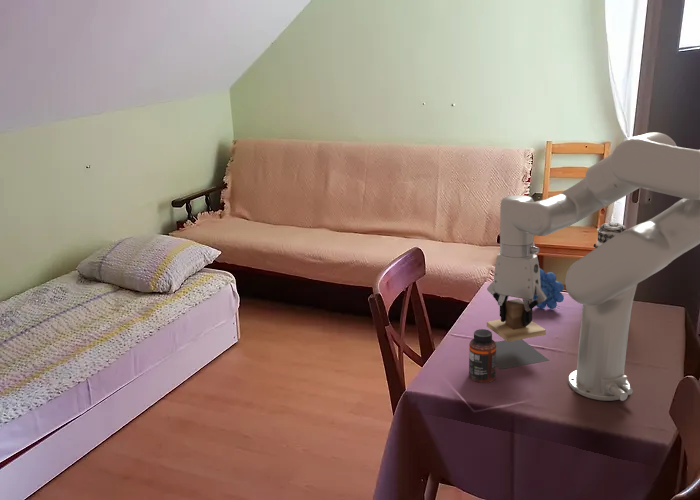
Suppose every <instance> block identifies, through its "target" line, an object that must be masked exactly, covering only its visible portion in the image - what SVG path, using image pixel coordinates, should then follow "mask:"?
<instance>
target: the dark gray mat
mask: <svg viewBox="0 0 700 500" xmlns="http://www.w3.org/2000/svg"><path fill="white" fill-rule="evenodd" d="M495 343H496V367H497V368H498V369H499V370H505V369H510V368H515V367H520V366H521V367H522V366H527V365H531V364H536V363H542V362H548V361H550V359H549V358H547V357H546V356H545V355H543V354H542V353H541V352H539V351H538V350H537V349H535V348H534V347H533V346H531V345H530V344H529V343H527V342H526V341H525V339H520V340H515V341H510V342H507V341H506V340H504V339H503V340H499V341H495Z"/></svg>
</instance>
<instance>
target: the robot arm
mask: <svg viewBox="0 0 700 500" xmlns="http://www.w3.org/2000/svg"><path fill="white" fill-rule="evenodd" d="M638 189H643V190H647V191H651V192H656V193H660V194H665V195H669V196H673V197H678V198H680V199H679V200H678V201H676V202H675V203H674V204H673V205H671V206H670V207H668V208H667V209H665V210H664V211H662V212H660V213H658V214H657V215H655V216H654V217H652V218H650V219H648V220H646V221H644V222H640V223H639V224H636V225H634V226H632V227H629V228H626V229H627V230H625V231H623V232H621V233H619V234H617V235H616V236H614V237H613V238H611V239H609V240H608V241H606V242H605V243H603V244H602V245H600V246H599V247H597V248H596V249H595V248H594V249H592V250H591V251H590V252H589V253H587V254H585V255H584V256H582V257H581V258H579V259H577V260H576V261H574V263H572V264H571V265H570V267H569V268H568V269H567V272H566V274H565V279H564V284H565V285H564V286H565V289H566V292H567V293H568V295H569V296H570V298H571V299H572V300H573V301H574V302H577V304H578V303H579V304H580V305H582V308H581V318H580V326H579V327H580V330H579V337H578V338H579V340H578V349H577V351H578V353H577V362H576V363H577V364H576V370H574V371H572V372H571V373H569V376H568V381H567V383H568V385H569V387H570V388H571V389H572V390H573V391H574V392H576V393H577V394H579V395H581V396H583V397H586V398H588V399H592V400H597V401H604V402H605V401H606V402H609V401H610V402H611V401H621V402H624V401H626V400H627V399H628V396H629V395H632V394H633V392H634V390H633V388H631V385H630V382H629V381H628V379H627V377H628V376H627V375H625V367H626V366H625V365H626V356H627V350H628V349H627V347H628V342H629V341H628V339H629V329H630V323H631V315H632V309H633V308H632V307H633V302H634V298H635V294H636V291H637V287H638V284H639V283H641V282H643V281H645V280H646V279H649V277H651V276H653V275H654V274H656V273H658V272H660V271H661V270H663V269H665V267H667V266H668V265H669V264H671V263H672V262H673V261H674V260H676V259H677V258H679V257H681V256H682V255H684V254H685V253H687V252H688V251H690V250H692V249H693V248H695V247H697V246H698V245H700V149H694V148H686V147H683V146H682V147H681V146H677V144H676V141H674V139H672V138H671V137H670V135H667V134H666V133H661V132H657V131H655V132H647V133H644V134H640V135H634V136H631V137H628V138H626V139H625V140H622V141H621V142H620V143H618V144H617V146H616V147H615V148H614V150H613V152H612V153H611V154H610V155H607V156H606V157H605V158H603V159H601V160H600V161H598V162H596V163H594V164H593V165H591V166H589V168H587V170H586V172H585V177H584V178H583V179H582V180H580V181H579V182H577V183H575V184H574V185H572V186H571V187H569V188H567V189H566V190H564V191H562V192H559V193H558V194H555V195H554V196H550V197H547V198H544V199H540V200H537V201H535V200H534V199H533V197H531V196H530V195H529V196H528V195H523V194H517V195H516V194H515V195H513V194H512V195H507V196H505V197H503V198H502V199H501V200H500V201H501V202H500V209H499V211H500V212H499V213H500V215H499V221H500V224H499V225H500V227H499V229H500V230H499V236H500V237H499V252H497V256H496V260H495V266H494V271H493V280H492V282H491V283H490V284H489V285H488V286H487V289H486V290H487V291H488V293H490V295H491V296H492V297H493V298H494V300H495V301H496V302H497V305H498V306H499V317H500V319H501V322H504V321H506V301H508V299H509V297H511V298H513V297H514V298H515V299H521V300H522V301H523V303H524V308H525V310H524V311H523V313H522V326H523V327H526V326H527V325H529V324H530V323H531V322H532V321H533V309H534V308H536V307H537V306H536V305H538V304H540V303H542V302H543V301H545V300H546V299H547V297H546V296H545V294H544V293H543V291H542V290H541V283H540V269H541V268H540V265H539V264H540V263H539V258H538V255H537V254H539V252H540V247H538V246H536V245H535V236H537V237H544V236H548V235H551V234H554V233H556V232H558V231H560V230H563V229H565V228H568V227H570V226H572V225H575V224H576V223H577V222H580V221H582V220H584V219H585V218H587V217H589V216H591V215H592V214H595V213H596V212H598V211H599V210H601V209H603V208H605V207H609V206H610V205H612V204H613V203H615V202H617V201H619V200H621V199H622V198H624V197H626V196H627V195H629V194H631V193H633V192H635V191H636V190H638ZM539 268H540V269H539ZM534 295H537V297H538V298H537V299H535V300H534V301H533V296H534Z"/></svg>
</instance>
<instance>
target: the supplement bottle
mask: <svg viewBox="0 0 700 500" xmlns="http://www.w3.org/2000/svg"><path fill="white" fill-rule="evenodd" d="M495 342H496V341H495V340H494V339H493V333H492V330H490V329H483V328H479V329H476V330H475V331H474V332H473V338H472V339H470V341H469V346H468V347H469V351H468V353H469V357H468V377H469V379H470V380H471V381H474V382H476V383H481V384H487V383H490V382H493V381H494V380H495V378H496V370H497V368H496V367H497V366H496V343H495Z"/></svg>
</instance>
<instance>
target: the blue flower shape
mask: <svg viewBox="0 0 700 500" xmlns="http://www.w3.org/2000/svg"><path fill="white" fill-rule="evenodd" d="M539 269H540V283H541V290H542V291H543V293H544V294H545V296H546V297H547V299H546V300H545V301H543V302H542V303H540V304H538V305H536V306H535V307H537V308H538V309H541V310H542V309H545V308H546V307H547V308H548V309H551V310H555V309H556V308H557V307H558V303H562V302H563V301H564V300H565V298H564V296H565V295H564V294H563V293H562V292H563V291H564V289H565V287H564V286H565V285H564V284H563V283H562V282H561V281H558V280H557V276H556V275H555V273H554V272H552V271H549V272H548V271H547V272H545V271H544V270H543V269H542V268H540V267H539ZM537 298H538V297H537V295H534V296H533V301H534V300H535V299H537Z"/></svg>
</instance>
